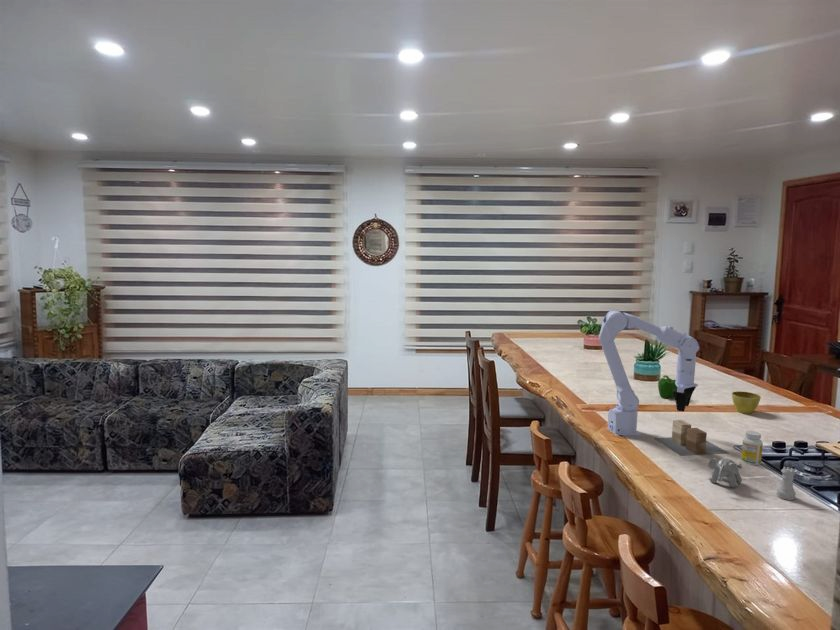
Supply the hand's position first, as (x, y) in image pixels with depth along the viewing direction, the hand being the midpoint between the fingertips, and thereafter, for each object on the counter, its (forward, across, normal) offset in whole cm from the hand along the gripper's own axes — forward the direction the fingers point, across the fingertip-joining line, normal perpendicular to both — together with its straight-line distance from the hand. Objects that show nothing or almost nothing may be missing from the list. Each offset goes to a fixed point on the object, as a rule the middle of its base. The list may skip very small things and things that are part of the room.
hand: (682, 408), depth 195 cm
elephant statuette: (+10, -36, -18) cm, 42 cm away
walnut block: (+10, -14, -7) cm, 18 cm away
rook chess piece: (+10, -34, -33) cm, 49 cm away
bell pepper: (+10, +50, +15) cm, 54 cm away
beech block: (+10, -8, -2) cm, 13 cm away
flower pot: (+10, +46, -15) cm, 50 cm away
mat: (+10, -9, -5) cm, 14 cm away
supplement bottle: (+10, -13, -23) cm, 28 cm away
